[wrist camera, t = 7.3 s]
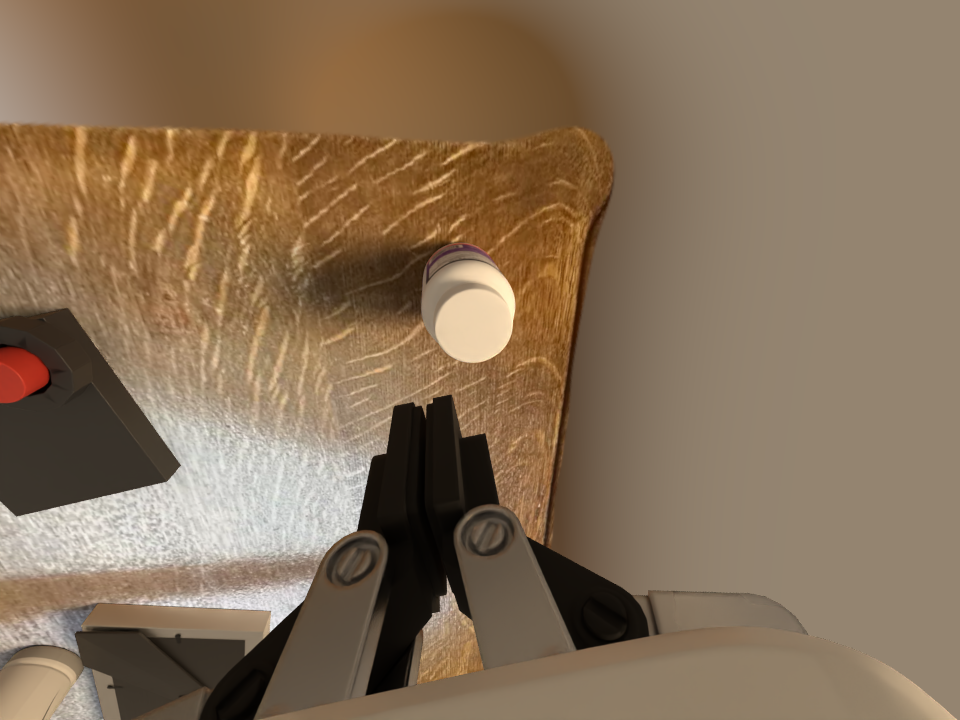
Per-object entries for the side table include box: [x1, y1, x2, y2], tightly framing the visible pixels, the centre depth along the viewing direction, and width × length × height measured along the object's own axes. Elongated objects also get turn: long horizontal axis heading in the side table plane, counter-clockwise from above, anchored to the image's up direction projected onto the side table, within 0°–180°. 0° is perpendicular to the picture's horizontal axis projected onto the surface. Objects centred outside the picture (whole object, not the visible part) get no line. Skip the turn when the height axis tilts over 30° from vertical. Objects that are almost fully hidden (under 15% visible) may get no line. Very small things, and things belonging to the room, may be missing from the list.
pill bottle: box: [421, 243, 515, 363], centre depth 24 cm, size 5×5×10 cm
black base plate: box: [0, 309, 181, 516], centre depth 27 cm, size 14×13×4 cm
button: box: [0, 347, 50, 403], centre depth 24 cm, size 3×3×2 cm
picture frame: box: [75, 603, 271, 720], centre depth 43 cm, size 16×3×21 cm
